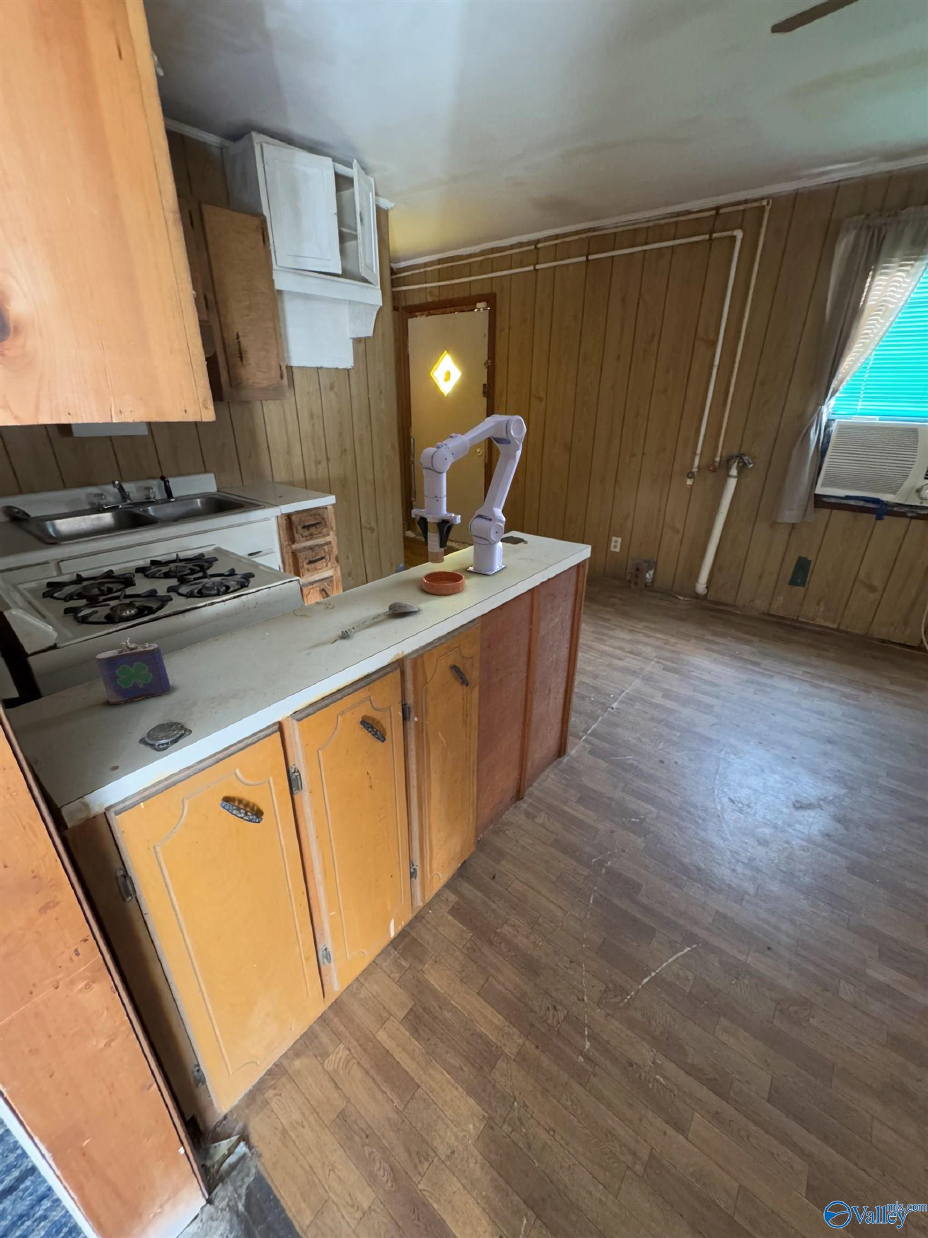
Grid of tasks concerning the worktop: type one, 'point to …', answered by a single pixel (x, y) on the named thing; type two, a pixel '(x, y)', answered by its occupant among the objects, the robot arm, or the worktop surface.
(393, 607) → the soupspoon
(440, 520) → the sprinkles bottle
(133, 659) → the flask
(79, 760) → the worktop surface
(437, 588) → the terracotta plant saucer
